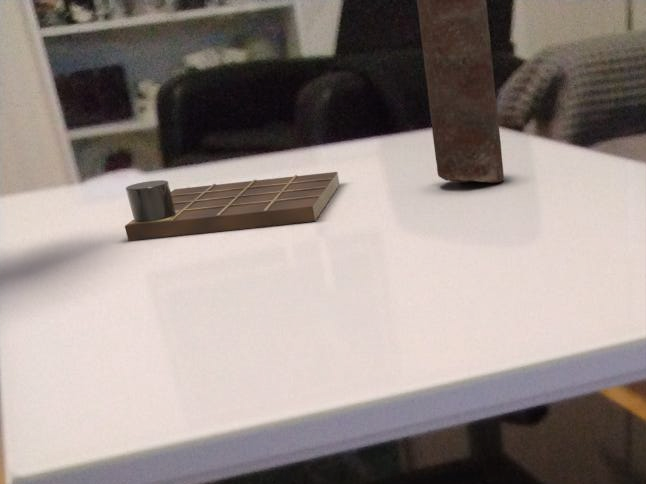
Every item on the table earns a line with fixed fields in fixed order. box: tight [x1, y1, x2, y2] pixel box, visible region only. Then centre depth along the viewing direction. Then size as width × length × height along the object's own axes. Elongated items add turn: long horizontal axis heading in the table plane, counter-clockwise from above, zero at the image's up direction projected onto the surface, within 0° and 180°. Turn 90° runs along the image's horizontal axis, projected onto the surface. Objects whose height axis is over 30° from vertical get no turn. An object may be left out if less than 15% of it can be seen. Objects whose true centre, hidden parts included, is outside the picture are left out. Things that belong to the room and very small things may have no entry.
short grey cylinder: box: [125, 180, 176, 222], centre depth 108 cm, size 4×4×3 cm
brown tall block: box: [416, 0, 505, 185], centre depth 109 cm, size 8×7×20 cm
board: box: [124, 171, 340, 242], centre depth 114 cm, size 20×20×2 cm
